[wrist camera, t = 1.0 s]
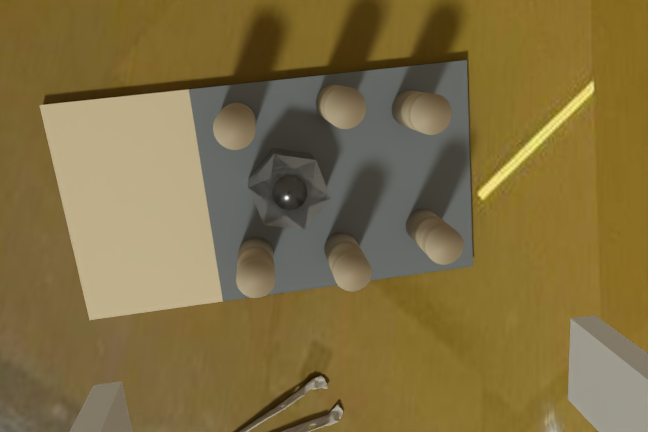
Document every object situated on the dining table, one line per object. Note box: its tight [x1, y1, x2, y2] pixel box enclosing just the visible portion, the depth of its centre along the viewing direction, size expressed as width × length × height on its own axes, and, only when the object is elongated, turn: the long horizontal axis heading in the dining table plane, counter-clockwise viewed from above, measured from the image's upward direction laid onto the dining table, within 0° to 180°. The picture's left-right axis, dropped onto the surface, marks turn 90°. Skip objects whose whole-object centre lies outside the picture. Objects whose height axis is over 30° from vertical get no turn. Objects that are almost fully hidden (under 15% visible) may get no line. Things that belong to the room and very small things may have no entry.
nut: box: [248, 148, 331, 230], centre depth 39 cm, size 5×6×3 cm
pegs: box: [213, 84, 464, 298], centre depth 39 cm, size 16×14×6 cm
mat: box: [40, 60, 473, 320], centre depth 41 cm, size 30×16×1 cm, turn 96°
